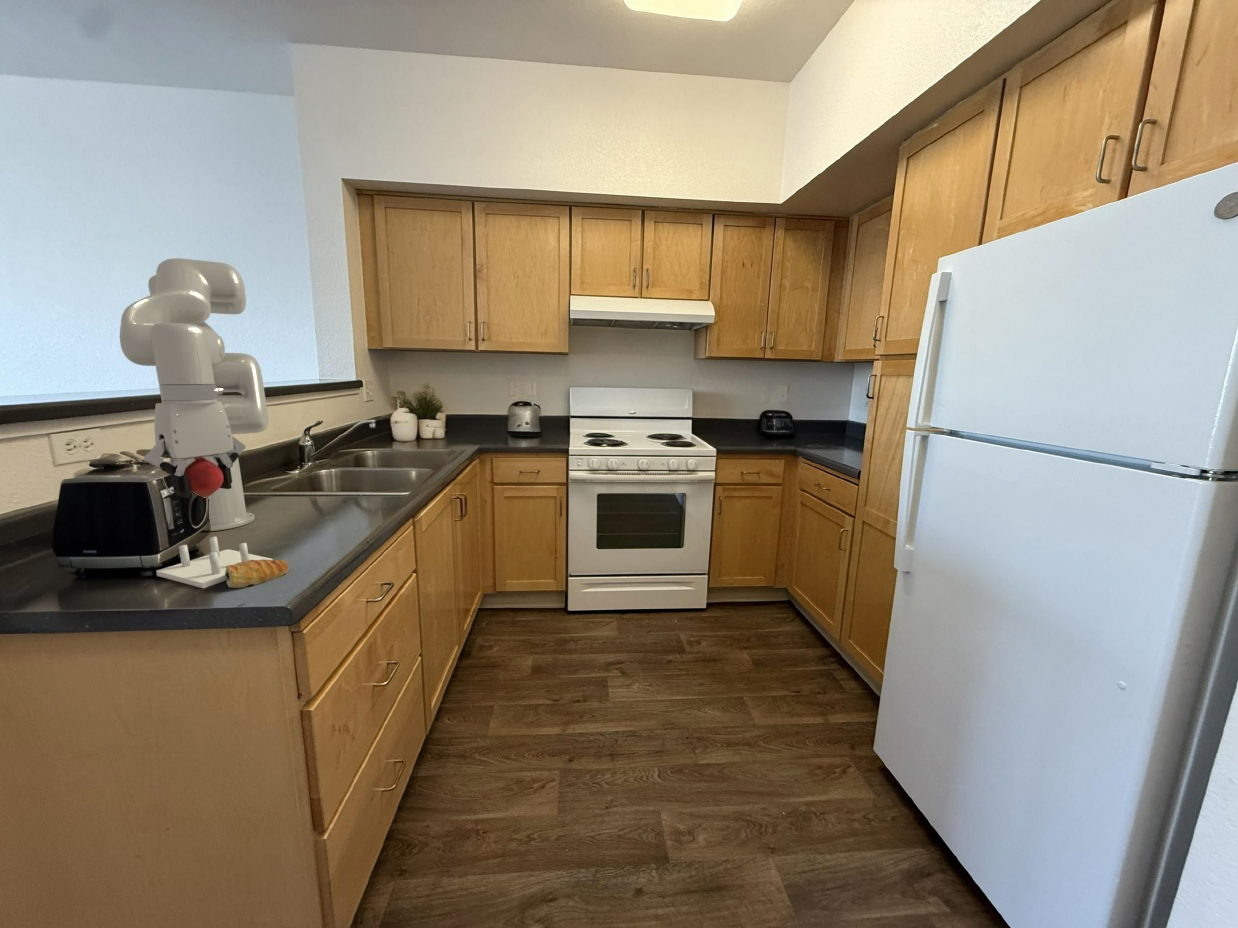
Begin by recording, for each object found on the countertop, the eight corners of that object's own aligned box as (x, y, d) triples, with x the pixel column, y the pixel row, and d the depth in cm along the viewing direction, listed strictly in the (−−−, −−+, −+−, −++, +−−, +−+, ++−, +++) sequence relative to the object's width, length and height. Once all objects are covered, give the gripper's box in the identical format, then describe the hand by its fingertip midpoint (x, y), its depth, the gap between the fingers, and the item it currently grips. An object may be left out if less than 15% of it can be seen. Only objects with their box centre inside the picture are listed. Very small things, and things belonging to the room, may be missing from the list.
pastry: (283, 566, 95) (281, 548, 94) (294, 576, 91) (291, 557, 90) (223, 581, 88) (219, 562, 87) (231, 593, 84) (227, 573, 83)
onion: (221, 492, 94) (215, 451, 93) (229, 496, 91) (223, 454, 89) (182, 497, 90) (175, 455, 88) (189, 503, 86) (181, 459, 85)
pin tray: (157, 575, 90) (152, 550, 89) (228, 553, 101) (224, 530, 100) (203, 588, 85) (198, 561, 84) (273, 563, 96) (269, 539, 95)
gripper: (229, 392, 96) (242, 481, 99) (114, 396, 80) (134, 501, 84) (253, 393, 93) (266, 484, 97) (140, 397, 78) (159, 506, 81)
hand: (205, 491), depth 90 cm, fingers closed on onion, 5 cm apart
